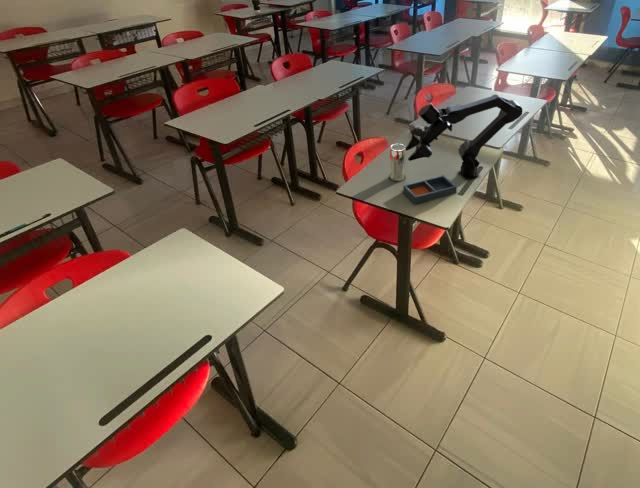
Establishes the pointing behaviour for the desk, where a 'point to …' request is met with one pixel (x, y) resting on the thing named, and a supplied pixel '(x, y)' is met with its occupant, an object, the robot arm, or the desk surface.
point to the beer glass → (397, 161)
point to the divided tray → (429, 189)
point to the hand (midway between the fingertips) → (407, 154)
